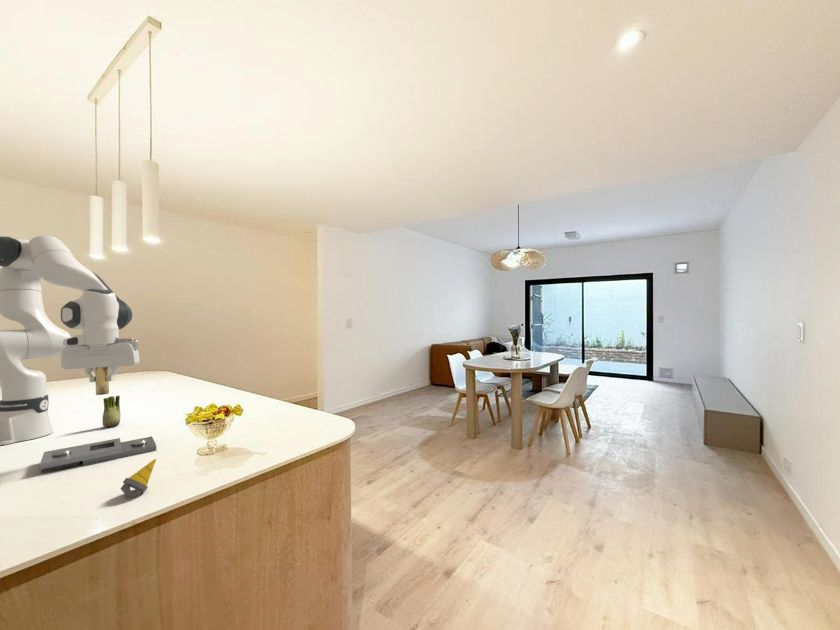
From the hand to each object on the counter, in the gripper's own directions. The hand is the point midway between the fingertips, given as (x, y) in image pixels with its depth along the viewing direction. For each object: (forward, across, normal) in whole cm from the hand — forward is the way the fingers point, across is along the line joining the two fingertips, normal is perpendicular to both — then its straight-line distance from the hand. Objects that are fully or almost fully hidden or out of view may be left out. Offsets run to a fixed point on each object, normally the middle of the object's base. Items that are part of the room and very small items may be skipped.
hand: (102, 381), depth 117 cm
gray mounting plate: (+22, -2, +5) cm, 23 cm away
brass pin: (+4, 0, 0) cm, 4 cm away
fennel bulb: (+22, +13, -29) cm, 39 cm away
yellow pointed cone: (+24, -26, +34) cm, 49 cm away
